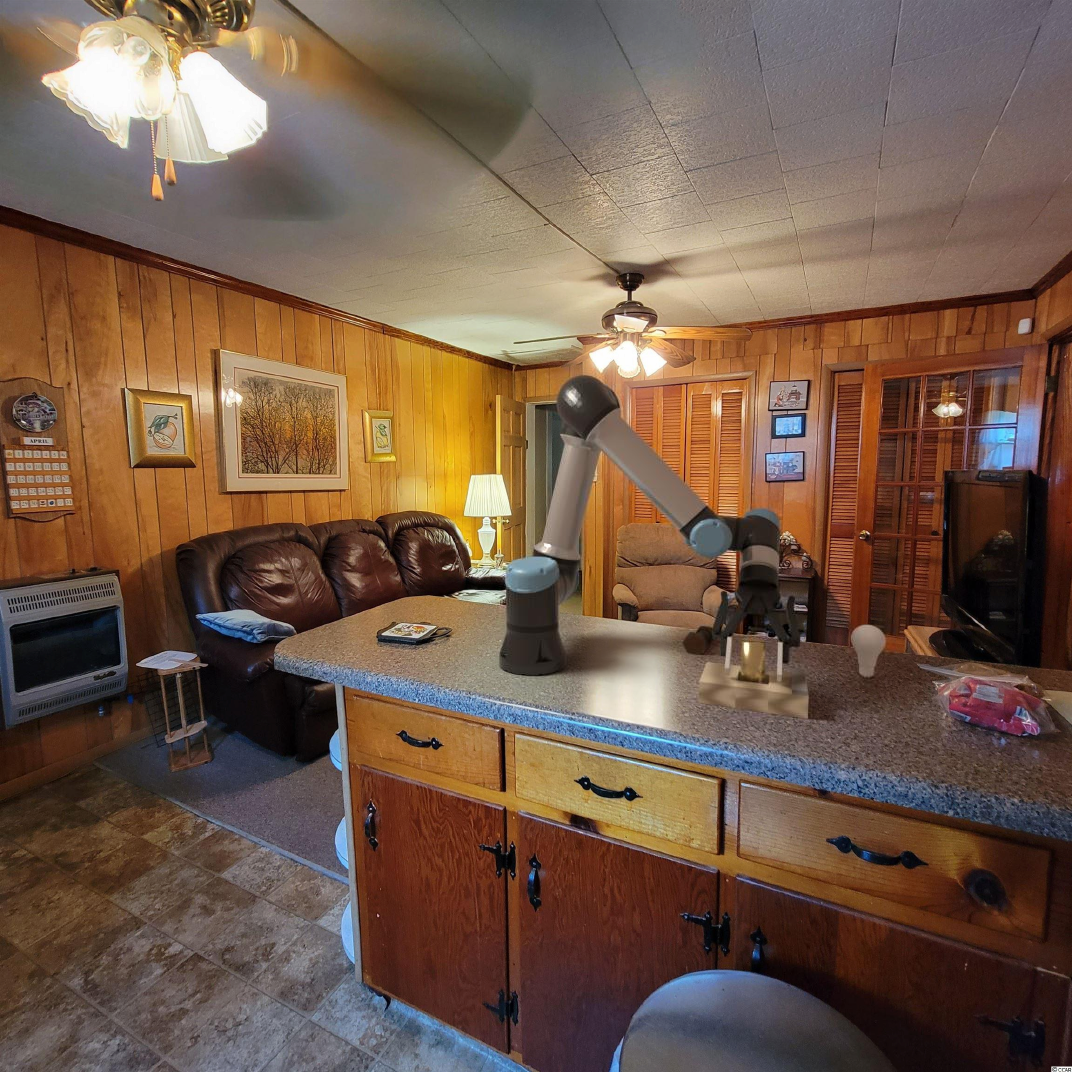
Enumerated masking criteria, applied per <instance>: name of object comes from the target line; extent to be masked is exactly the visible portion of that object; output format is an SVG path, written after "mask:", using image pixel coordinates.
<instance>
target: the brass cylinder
mask: <svg viewBox="0 0 1072 1072" xmlns="http://www.w3.org/2000/svg"><path fill="white" fill-rule="evenodd" d="M740 666H741V681H745V682H753V683H761V684H765V669H766V640H764V639H763V638H758V637H745V638H744V637H743V638H741V639H740Z"/></svg>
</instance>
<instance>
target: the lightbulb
mask: <svg viewBox="0 0 1072 1072" xmlns="http://www.w3.org/2000/svg"><path fill="white" fill-rule="evenodd" d="M850 641H851V644H852V646H853V649H854V650H855V652H856V656H857V663H858V665H859V666H858V669H859V670H858V672H859V674H860V675H861V676H862V677H863V676H864V677H863V678H866V677H869V678H870V677H873V676H874V674H875V667H876V666H877V661H878V658H879V655H880V654H881V652H883V650H884V648H885V646H886V643H887V642H886V636H885V634H884V632H883V631H882V630H881V629H880V628H878V627H877V626H874V625H871V624H862V625H859V626H857V627H855V628H854V630H853V631H852V633H851V635H850Z"/></svg>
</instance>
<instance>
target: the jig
mask: <svg viewBox="0 0 1072 1072" xmlns="http://www.w3.org/2000/svg"><path fill="white" fill-rule="evenodd" d="M805 671H806V670H805V669H802V668H795V667H794V668H793V667H790V671H783V670H782V680H781V682H778V681H777V669H768V668H765V684H761V683H753V682H745V681H741V665H734V664H731V665H730V675H725V663H718V662H717V663H716V662H710V661H707V662H706V664H705V666H704V669H703V671H702V674H701V676H700V678H699V682H698V704H704V705H712V706H719V707H726V708H733V709H737V710H739V709H740V710H745V711H751V712H759V713H765V714H773V715H777V716H778V715H779V716H785V717H792V718H799V719H805V720H806V719H807V720H808V718H809V691H808V681H807V674H806V672H805Z"/></svg>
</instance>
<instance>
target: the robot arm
mask: <svg viewBox="0 0 1072 1072" xmlns="http://www.w3.org/2000/svg"><path fill="white" fill-rule="evenodd" d="M556 408H557V412H558V415H559V417H560V419H561V420H562V421H563V422H562V426H561V430H560V437H561V439H562V440H563V442H564V446H563V449H562V453H561V458H560V459H561V460H560V462H559V466H558V471H557V476H556V481H555V484H554V489H553V491H552V497H551V501H550V506H549V510H548V513H547V519H546V523H545V527H544V532H543V536H542V539H541V541H540V542H539V543H537V544H535V545H534V547H533V551H532V556H526V557H523V558H518V559H514V560H513V561H511V562H509V564H508V565H507V566H506V569H505V577H504V583H505V612H506V613H505V617H506V619H505V621H506V628H505V629H506V631H505V634H504V638H503V641H502V644H501V647H500V650H499V653H498V665H499V668H501V669H502V670H503V671H505V670H506V672H508V673H511V672H512V673H511V674H514V675H515V674H516V675H522V674H525V675H526V676H540V675H539V674H542V675H547V674H548V673H549V674H553V673H556V671H557V672H559V671H561V670H563V669H564V668H566V666H567V651H566V648H565V646H564V643H563V639H562V636H561V633H560V631H559V629H560V628H559V613H560V611H559V610H560V609H559V606H560V605H562V604H563V603H564V602H566V601H567V600H569V599H570V598H572V597H573V594H574V593H575V592H576V591H577V588H578V586H579V581H580V574H579V573H580V572H579V568H580V567H579V566H580V563H581V559H582V558H581V557H582V556H581V554H580V553H579V552H578V544H579V540H580V536H581V532H582V529H583V524H584V520H585V516H586V512H587V509H588V503H589V501H590V500H589V499H590V496H591V491H592V487H593V484H594V483H593V482H594V479H595V475H596V471H597V467H598V463H599V459H600V455H601V452H602V453H603V454H604V455H605V456H606V457H607V458H608V459H609V460H610V461H611V462H612V463H613V464H614V465H615V466H616V467H617V468H618V469H619V471H621V472H622V473H623V475H625V476H626V478H628V481H630V482H631V483H632V484H633V485H634V486H635V487H636V488H637V489H638V490H639V491H640V492H641V493H642V494H643V495H644V496H645V498H646V499H648V500H649V502H650V503H651V504H653V506H655V508H657V510H658V511H659V512H660V513H661V514H662V515H663V516H664V517H665V518H666V519H667V520H668V521H669V522H670V524H672V525H673V527H674V528H676V530H677V531H678V532H680V534H681V536H682V537H683V538H684V544H685V545H686V546H688V547H691V548H692V550H693V551H694V552H695V553H696V554H697V555H699V556H701V557H703V558H707V559H714V558H718V557H721V556H722V555H724V554H725V553H726V552H727V551H729V552H735V553H736V552H738V553H740V556H739V558H740V559H739V568H738V569H739V572H738V582H737V589H736V590H735V592H727V591H726V590H722V591H721V592H720V600H721V601H720V605H719V608H718V610H717V613H716V616H715V619H714V622H713V626H712V627H711V628H712V634H713V638H714V639H715V640H717V639H718V640H720V648H719V653H720V656H721V657H724V658H725V662H724V664H725V675H730V665H732V664H731V663H732V654H733V653H732V652H733V638H732V637H733V635H734V633H735V632H736V631H737V629H738V627H739V626H740V625H741V623H742V621H743V620H744V619H745V618H746V617H747V615H760V616H765V617H766V618H767V620H768V621H769V623H770V626H771V627H772V629H773V631H774V633H775V635H776V638H777V639H778V642H777V661H776V662H777V664H776V670H777V681H778V682H781V680H782V671H783V664H785V665H788V664H789V663H790V649H791V648H799V647H800V645H801V633H800V629H799V625H798V620H797V616H796V612H795V611H796V610H795V606H796V597H795V596H794V595H789V596H787V597H785V596H782V595H781V594H780V593H779V574H780V573H779V572H780V570H779V569H780V546H781V545H780V544H781V543H780V542H781V528H780V523H781V522H780V517H779V516H778V514H777V513H775V511H773V510H771V509H769V508H764V507H758V508H756V509H750V510H748V511H747V512H746V513H745V514H744V515H743V517H734V516H727V515H719V514H718V515H717V514H716V512H715V511H714V510H712V509H711V508H710V507H709V506H708V505H707V503H705V501H704V500H703V499H702V498H701V497H700V496H699V495H698V494H697V493H696V492H695V491H694V490H693V489H692V488H691V487H690V486H689V485H688V484H687V483H686V482H685V481H684V479H682V478H681V477H680V476H679V475H678V474H677V473H676V472H675V471H674V470H673V469H672V468H671V466H670V465H668V464H667V462H666V461H665V460H663V458H662V457H661V456H660V455H659V454H658V453H657V452H656V451H655V450H654V449H653V448H652V447H651V446H650V445H649V444H648V443H647V442H646V441H645V440H644V439H643V438H642V437H641V436H640V435H639V433H637V432H636V430H634V429H633V427H632V426H630V425H629V423H627V421H625V419H624V418H623V417H622V409H621V404H620V400H619V398H618V396H617V394H616V393H615V391H614V390H613V389H611V388H610V387H609V386H608V385H606V384H604V383H603V382H602V380H600V379H598V378H596V377H594V376H593V375H588V374H587V375H585V374H581V375H575V376H572V377H571V378H569V379H568V380H566V382H564V384H562V386H561V387H560V389H559V390H558V393H557V396H556ZM733 601H736V602H737V603H738V606H737V609H736V610H735V612H734V614H733V615H732V616H731V618H730V619H729V621H728V623H727V624H726V625H725V627H724V629H723V626H724V622H725V620H726V616H727V613H728V611H729V606H731V604H732V603H733ZM779 604H781V605H782V608H783V609H784V610H785V611H786V617H787V618H786V619H787V623H788V628H789V632H790V636H789V635H788V634H787V632H786V630H785V627H784V626H783V624H782V622H781V620H780V618H779V617H778V615H777V612H776V609H775V608H776V607H777V606H778V605H779ZM722 629H723V630H722ZM714 639H713V640H714Z"/></svg>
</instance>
